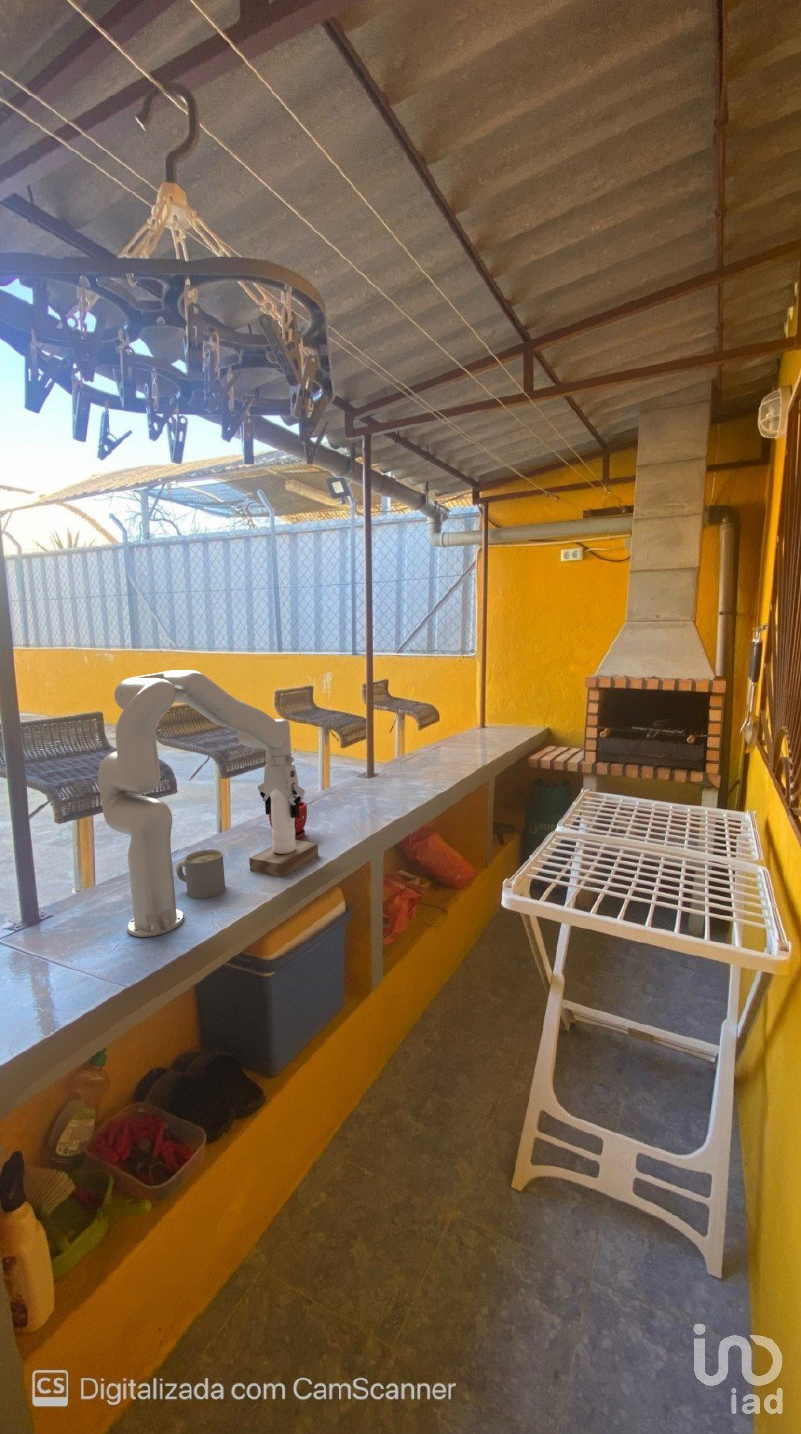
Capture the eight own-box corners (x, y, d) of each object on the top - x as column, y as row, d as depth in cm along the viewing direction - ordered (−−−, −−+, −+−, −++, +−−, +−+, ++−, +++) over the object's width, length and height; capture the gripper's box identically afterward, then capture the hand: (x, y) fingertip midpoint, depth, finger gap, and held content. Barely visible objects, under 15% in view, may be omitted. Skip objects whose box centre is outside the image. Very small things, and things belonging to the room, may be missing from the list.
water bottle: (283, 856, 167) (280, 774, 164) (267, 851, 171) (264, 771, 169) (300, 849, 173) (298, 770, 170) (285, 845, 177) (282, 767, 174)
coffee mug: (232, 885, 157) (230, 851, 156) (207, 901, 148) (204, 864, 147) (196, 879, 163) (193, 846, 162) (169, 893, 154) (166, 858, 153)
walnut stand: (318, 855, 178) (317, 843, 177) (281, 877, 162) (281, 864, 162) (288, 850, 183) (287, 838, 183) (250, 870, 168) (249, 858, 167)
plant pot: (304, 843, 190) (302, 809, 188) (266, 844, 190) (263, 810, 189) (311, 830, 203) (309, 798, 201) (275, 831, 203) (273, 799, 202)
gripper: (309, 759, 168) (312, 814, 170) (265, 755, 176) (268, 808, 178) (294, 764, 161) (297, 822, 164) (248, 760, 169) (252, 815, 172)
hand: (282, 815), depth 171 cm, fingers open, 9 cm apart
